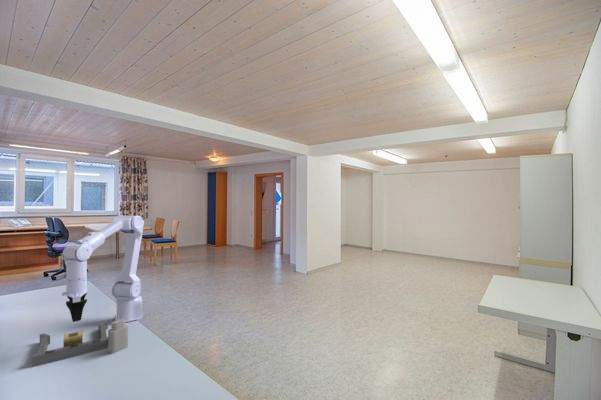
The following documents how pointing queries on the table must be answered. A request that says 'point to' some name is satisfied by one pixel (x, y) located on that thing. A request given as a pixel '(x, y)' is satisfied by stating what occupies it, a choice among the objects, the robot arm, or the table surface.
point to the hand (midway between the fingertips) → (77, 317)
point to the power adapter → (117, 336)
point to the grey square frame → (69, 348)
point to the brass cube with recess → (73, 338)
